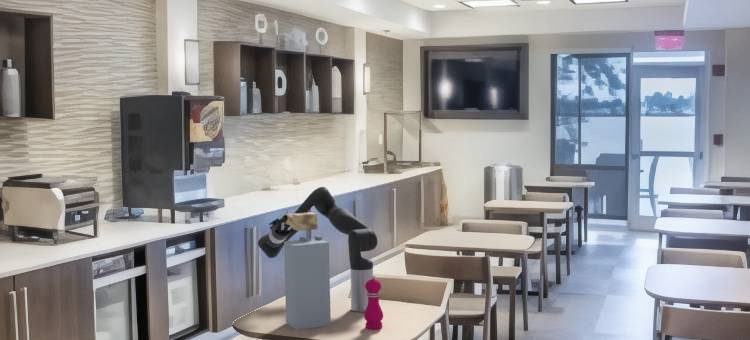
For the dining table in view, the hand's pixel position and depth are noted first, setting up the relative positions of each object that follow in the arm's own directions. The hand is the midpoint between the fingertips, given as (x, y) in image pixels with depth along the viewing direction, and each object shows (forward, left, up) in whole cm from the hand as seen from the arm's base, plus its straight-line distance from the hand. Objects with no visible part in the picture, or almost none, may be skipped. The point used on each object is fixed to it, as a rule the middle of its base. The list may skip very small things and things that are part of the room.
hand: (291, 216), depth 334 cm
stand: (+3, +24, -39) cm, 46 cm away
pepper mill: (-17, +40, -39) cm, 59 cm away
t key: (0, +6, -3) cm, 7 cm away
